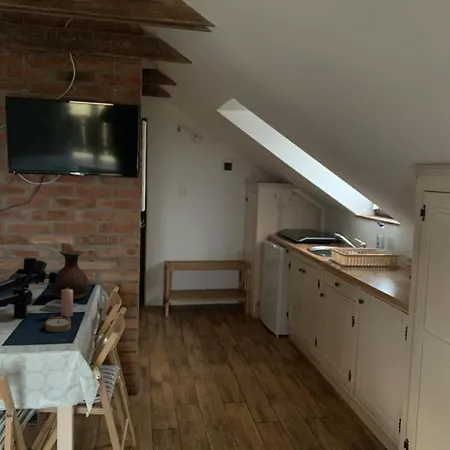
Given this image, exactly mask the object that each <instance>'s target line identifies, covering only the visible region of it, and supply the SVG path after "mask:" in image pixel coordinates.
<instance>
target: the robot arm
mask: <svg viewBox="0 0 450 450" xmlns="http://www.w3.org/2000/svg"><path fill="white" fill-rule="evenodd" d="M47 266H48V264H47V262H46V261H44V260H39V259H37V257H24V258H23V268H18V269H17V270H16V271H15V272H14V273H12V274H11V275H10V276H9V277H8V278H6V279H4V280H2V281H0V293H2V292H5V291H7V290H10V289H12V292H11V293H9V294H5V295H2V296H0V308H1V307H5V306H7V305H13V315H12V316H10V318H11V319H22V320H23V319H25V318H27V317H29V316H30V315H31V314H30V313H28V306H30V305H31V304H32V300H33V295H34V294H33V292H32V290H31V289H29V288H30V285H32V284H37V285H38V284H40V283H41V284H43V283H45V280H46V279H47V280H48V284H49V285H51V284H53V285H57V284H58V279H59V278H60V275H59V273H57V272H58V271H57V272H56V271H50V272H49V273H47V272H46V269H47Z"/></svg>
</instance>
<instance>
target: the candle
mask: <svg viewBox="0 0 450 450" xmlns="http://www.w3.org/2000/svg"><path fill="white" fill-rule="evenodd" d="M60 300H61V312H60V316H61V317H62V316H64V315H66V316H68V317H69V318H70V316H71V317H73V315H74V314H73V312H74V308H73V303H74V300H73V290H72V289H68V288H66V289H63V290H61V299H60Z"/></svg>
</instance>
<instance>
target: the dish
mask: <svg viewBox="0 0 450 450" xmlns="http://www.w3.org/2000/svg"><path fill="white" fill-rule="evenodd" d="M78 305H79V304H78V303H76V302H75V303H74V302H73V309H75V308H77V307H78ZM39 308H40V309H39V311H44V312H54V313H61V299H55V300H54V299H53V300H51V301H49V302H46V303H45V305H43V306H41V307H39Z"/></svg>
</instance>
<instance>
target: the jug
mask: <svg viewBox="0 0 450 450" xmlns="http://www.w3.org/2000/svg"><path fill="white" fill-rule="evenodd" d="M60 245H61V251H59V254H60V255H62V256H63V257H64V265H63V267H62V268H60V269H59V270H58V271H57V273H59V275H60V278H59V279H58V284H57V285H53V284H49V285H50V291H51V294H52V295H53V296H54V297H57V298H59V300H61V290H63V289H66V288H68V289H72V290H73V301H74V300H81V299H82V298H84V297H85V296H86V295H87V294H88V293H89V291H90V289H91V284H90V280H89V277H87V275H86V273H85V272H84V271H83V270H82V269H81V268H80V267H79V264H78V263H79V261H78V260H79V257H80V256H82V255H83V254H84V252H83V251H82V250H74V248H73V246H72V244H71V243H70V242H69V243H67V242H66V243H65V242H61V243H60Z"/></svg>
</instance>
